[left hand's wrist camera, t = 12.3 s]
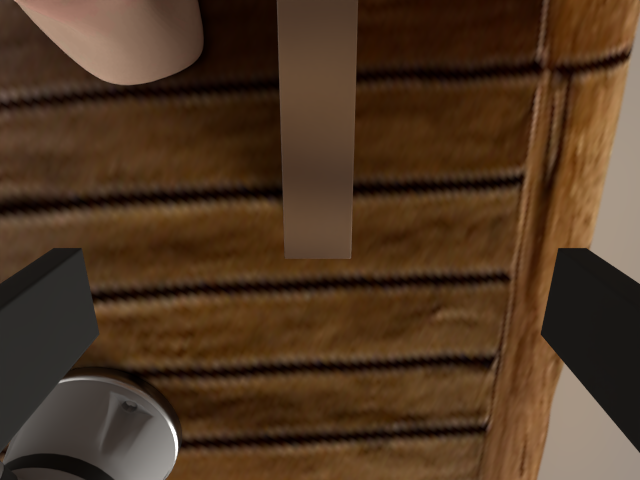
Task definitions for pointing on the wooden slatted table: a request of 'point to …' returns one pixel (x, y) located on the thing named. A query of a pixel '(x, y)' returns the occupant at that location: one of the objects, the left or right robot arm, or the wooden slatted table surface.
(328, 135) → the bar
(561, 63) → the wooden slatted table surface
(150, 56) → the anatomical model
